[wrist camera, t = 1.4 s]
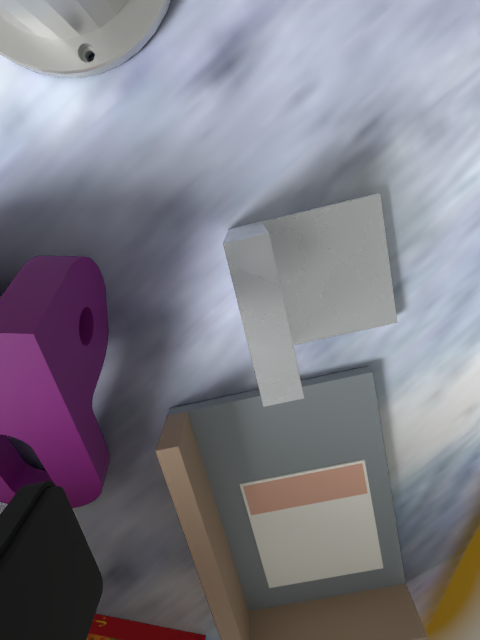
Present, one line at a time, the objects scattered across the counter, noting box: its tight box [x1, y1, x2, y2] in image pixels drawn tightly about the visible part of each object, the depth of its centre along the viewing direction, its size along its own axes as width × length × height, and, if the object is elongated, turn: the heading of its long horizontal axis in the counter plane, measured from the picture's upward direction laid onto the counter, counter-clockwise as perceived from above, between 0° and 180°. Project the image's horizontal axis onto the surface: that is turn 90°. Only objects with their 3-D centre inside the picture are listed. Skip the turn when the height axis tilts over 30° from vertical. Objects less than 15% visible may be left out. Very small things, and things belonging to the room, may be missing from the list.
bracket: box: [223, 193, 397, 407], centre depth 22 cm, size 9×8×8 cm
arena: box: [155, 366, 428, 640], centre depth 28 cm, size 20×14×5 cm
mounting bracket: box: [0, 256, 110, 508], centre depth 26 cm, size 9×8×18 cm
